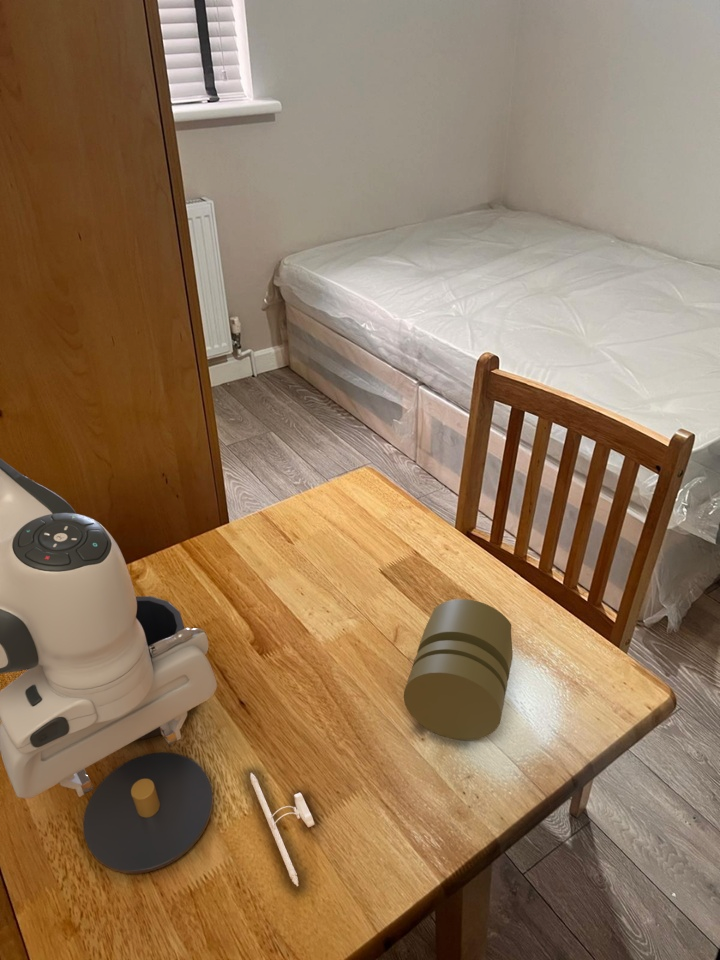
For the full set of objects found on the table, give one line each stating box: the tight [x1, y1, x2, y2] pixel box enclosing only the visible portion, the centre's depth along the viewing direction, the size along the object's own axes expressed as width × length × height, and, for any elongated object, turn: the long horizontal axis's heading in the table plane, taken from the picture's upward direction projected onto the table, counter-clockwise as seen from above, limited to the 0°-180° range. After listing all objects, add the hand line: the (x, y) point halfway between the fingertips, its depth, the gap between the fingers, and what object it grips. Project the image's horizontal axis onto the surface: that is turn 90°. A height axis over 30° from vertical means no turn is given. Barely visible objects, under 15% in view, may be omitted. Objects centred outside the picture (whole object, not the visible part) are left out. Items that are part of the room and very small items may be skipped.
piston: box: [403, 598, 514, 741], centre depth 88 cm, size 11×12×11 cm
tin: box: [136, 595, 191, 741], centre depth 89 cm, size 13×13×12 cm
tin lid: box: [82, 751, 214, 875], centre depth 78 cm, size 14×14×5 cm
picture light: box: [249, 772, 315, 887], centre depth 78 cm, size 14×4×2 cm, turn 26°
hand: (129, 762), depth 74 cm, fingers open, 8 cm apart
